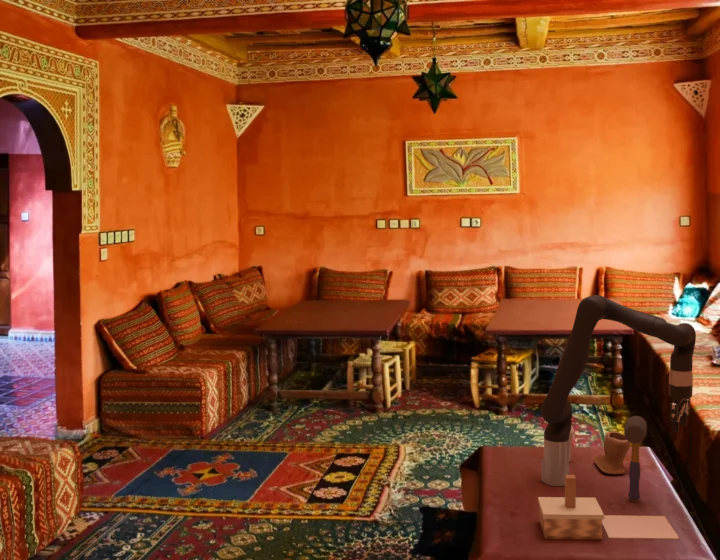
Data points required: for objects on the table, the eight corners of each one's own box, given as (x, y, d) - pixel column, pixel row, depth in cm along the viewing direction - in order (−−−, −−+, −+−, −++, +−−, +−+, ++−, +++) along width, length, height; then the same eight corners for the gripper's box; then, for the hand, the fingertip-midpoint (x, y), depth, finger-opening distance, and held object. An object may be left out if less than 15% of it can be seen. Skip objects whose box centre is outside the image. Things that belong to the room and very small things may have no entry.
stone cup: (633, 476, 316) (634, 438, 314) (602, 476, 316) (602, 439, 314) (622, 462, 331) (623, 426, 329) (592, 462, 331) (593, 426, 329)
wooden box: (544, 538, 265) (544, 518, 264) (539, 521, 277) (539, 501, 276) (601, 539, 263) (602, 518, 262) (593, 522, 276) (594, 502, 275)
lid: (543, 521, 263) (543, 484, 262) (537, 504, 277) (538, 468, 276) (604, 522, 262) (604, 484, 260) (595, 504, 276) (595, 469, 274)
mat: (609, 538, 264) (609, 537, 264) (598, 516, 281) (598, 515, 280) (679, 539, 262) (679, 538, 262) (664, 517, 279) (664, 516, 279)
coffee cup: (574, 458, 337) (575, 423, 335) (572, 466, 328) (573, 430, 326) (551, 456, 340) (551, 421, 338) (548, 464, 331) (548, 428, 329)
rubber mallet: (644, 508, 286) (646, 425, 282) (621, 505, 289) (623, 423, 285) (646, 495, 297) (648, 415, 293) (624, 492, 300) (626, 413, 296)
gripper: (676, 376, 285) (675, 421, 288) (662, 385, 275) (661, 432, 277) (698, 379, 281) (697, 425, 283) (685, 388, 270) (683, 436, 272)
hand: (679, 428), depth 280 cm, fingers open, 8 cm apart
